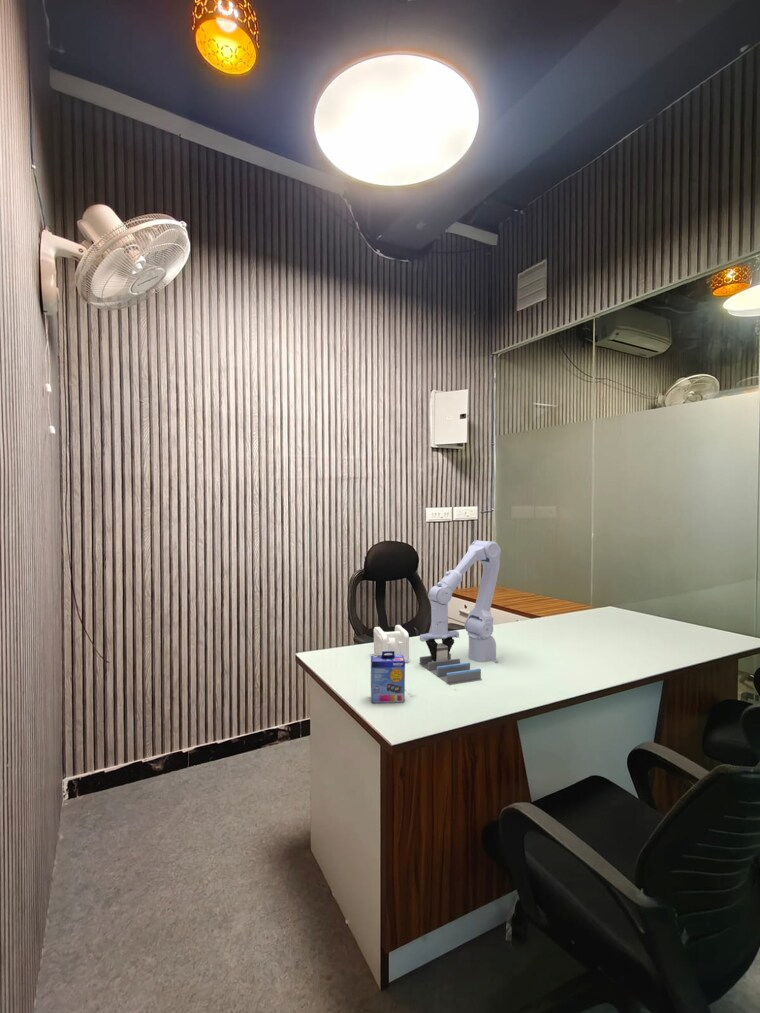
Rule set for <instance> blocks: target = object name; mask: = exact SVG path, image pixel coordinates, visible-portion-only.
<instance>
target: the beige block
mask: <svg viewBox="0 0 760 1013" xmlns="http://www.w3.org/2000/svg"><path fill="white" fill-rule="evenodd" d="M444 660H448V646H446V645H444V644H443V643H442V642H441V643H439V642H438V645H437V651H436V661H444ZM436 661H435V662H436ZM432 662H434V661H433V660H432Z"/></svg>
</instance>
